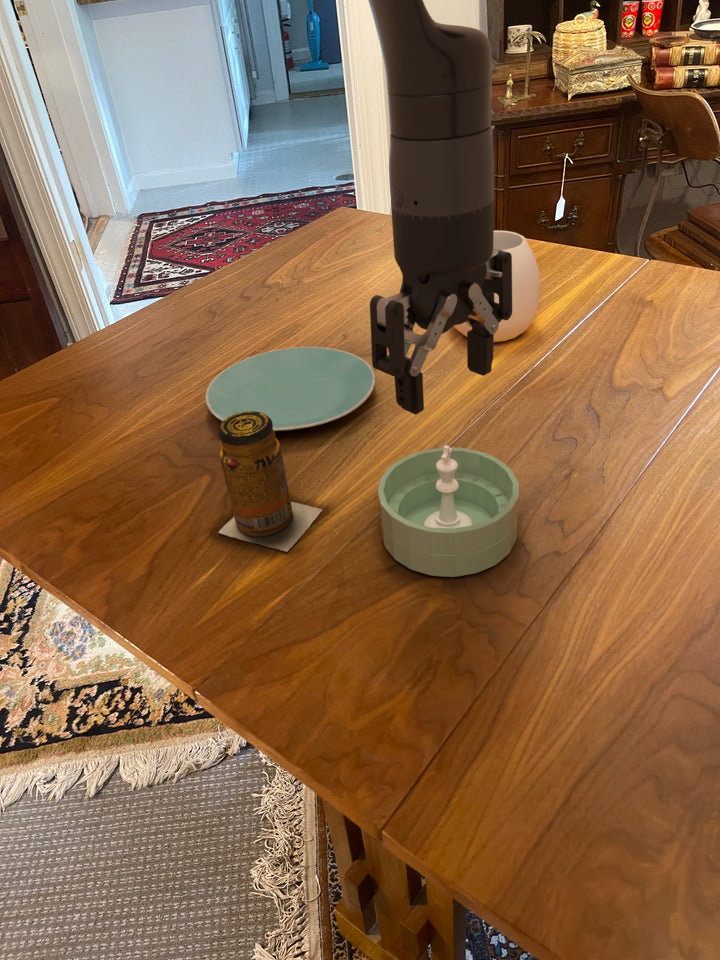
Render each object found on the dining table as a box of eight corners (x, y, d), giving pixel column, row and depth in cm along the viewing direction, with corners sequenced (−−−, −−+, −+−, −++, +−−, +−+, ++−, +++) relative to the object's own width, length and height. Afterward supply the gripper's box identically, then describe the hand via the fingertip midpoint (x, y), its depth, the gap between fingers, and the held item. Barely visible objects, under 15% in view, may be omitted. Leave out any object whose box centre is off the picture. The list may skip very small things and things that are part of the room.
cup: (537, 311, 112) (542, 223, 104) (538, 351, 102) (544, 256, 94) (450, 312, 115) (449, 226, 107) (443, 351, 104) (441, 259, 96)
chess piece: (415, 540, 72) (410, 456, 66) (433, 510, 75) (430, 428, 69) (463, 552, 70) (463, 466, 64) (480, 520, 73) (481, 437, 67)
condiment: (256, 493, 81) (235, 400, 74) (322, 510, 78) (308, 414, 71) (218, 534, 76) (192, 438, 69) (287, 554, 73) (267, 455, 66)
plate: (273, 351, 109) (270, 334, 107) (406, 378, 99) (405, 359, 98) (174, 426, 94) (168, 407, 93) (318, 466, 84) (315, 445, 83)
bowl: (533, 511, 75) (537, 463, 71) (489, 597, 66) (490, 547, 62) (415, 482, 80) (413, 436, 77) (359, 559, 71) (353, 511, 68)
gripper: (409, 232, 48) (420, 440, 57) (544, 179, 55) (533, 372, 64) (335, 214, 52) (356, 409, 62) (467, 167, 60) (468, 348, 69)
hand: (446, 390), depth 63 cm, fingers open, 8 cm apart
